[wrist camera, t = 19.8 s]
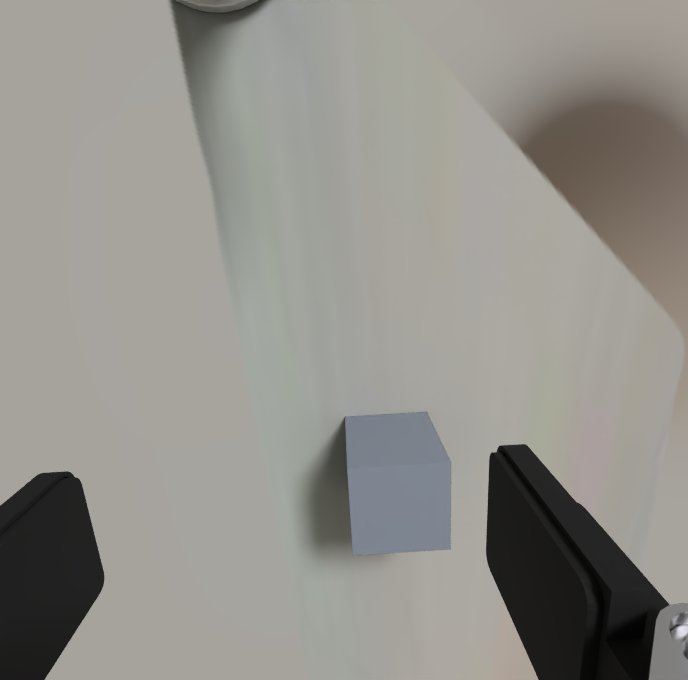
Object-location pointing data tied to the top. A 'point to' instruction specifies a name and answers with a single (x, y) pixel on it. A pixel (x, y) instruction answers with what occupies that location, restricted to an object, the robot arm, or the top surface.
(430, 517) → the pale blue-grey cube
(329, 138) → the top surface
